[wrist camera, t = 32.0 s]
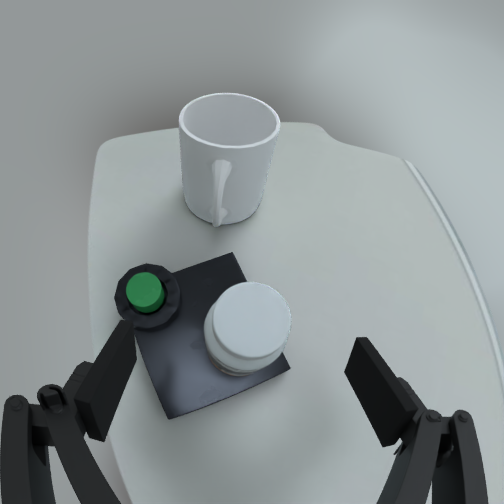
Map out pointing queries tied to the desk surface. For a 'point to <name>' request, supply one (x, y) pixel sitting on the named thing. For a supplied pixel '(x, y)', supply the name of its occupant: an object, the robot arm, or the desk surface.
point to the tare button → (145, 292)
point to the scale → (187, 336)
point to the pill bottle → (247, 328)
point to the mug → (226, 155)
